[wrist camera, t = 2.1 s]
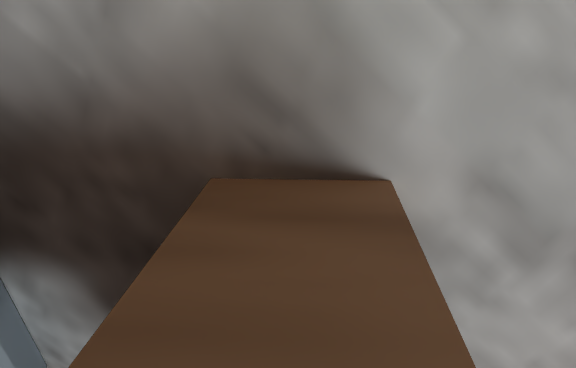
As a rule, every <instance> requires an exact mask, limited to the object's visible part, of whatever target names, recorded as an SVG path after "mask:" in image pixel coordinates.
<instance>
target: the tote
mask: <svg viewBox="0 0 576 368" xmlns="http://www.w3.org/2000/svg"><path fill="white" fill-rule="evenodd" d="M46 367H47V366H46V364H45V362H44V360H43V358H42V356H41V354H40V352H39V351H38V349H37V347H36V345H35V343H34V341H33V339H32V337H31V336H30V334H29V332H28V330H27V328H26V326H25V324H24V322H23V321H22V319H21V317H20V315H19V313H18V311H17V309H16V307H15V306H14V304H13V302H12V300H11V298H10V296H9V294H8V292H7V290H6V289H5V287H4V285H3V283H2V281H1V279H0V368H46Z"/></svg>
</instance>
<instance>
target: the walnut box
mask: <svg viewBox="0 0 576 368" xmlns="http://www.w3.org/2000/svg"><path fill="white" fill-rule="evenodd" d="M69 368H476V367H475V365H474V363H473V360H472V358H471V356H470V354H469V352H468V349H467V347H466V345H465V343H464V341H463V338H462V336H461V334H460V332H459V330H458V327H457V325H456V323H455V321H454V319H453V316H452V314H451V312H450V310H449V308H448V306H447V303H446V301H445V299H444V297H443V295H442V292H441V290H440V288H439V286H438V284H437V281H436V279H435V277H434V275H433V273H432V270H431V268H430V266H429V264H428V262H427V259H426V257H425V255H424V253H423V251H422V248H421V246H420V244H419V242H418V240H417V237H416V235H415V233H414V231H413V229H412V226H411V224H410V222H409V220H408V218H407V215H406V213H405V211H404V209H403V207H402V205H401V202H400V200H399V198H398V196H397V194H396V191H395V189H394V187H393V185H392V183H391V181H375V180H298V179H221V178H211V179H210V180H209V182H208V183H207V184H206V186H205V187H204V188H203V190H202V191H201V192H200V194H199V195H198V196H197V198H196V199H195V200H194V202H193V203H192V204H191V206H190V207H189V208H188V210H187V211H186V212H185V214H184V215H183V216H182V218H181V219H180V220H179V222H178V223H177V224H176V226H175V227H174V228H173V229H172V231H171V232H170V233H169V235H168V236H167V237H166V239H165V240H164V241H163V243H162V244H161V245H160V247H159V248H158V249H157V251H156V252H155V253H154V255H153V256H152V257H151V259H150V260H149V261H148V263H147V264H146V265H145V267H144V268H143V269H142V271H141V272H140V273H139V275H138V276H137V277H136V279H135V280H134V281H133V283H132V284H131V285H130V287H129V288H128V289H127V291H126V292H125V293H124V295H123V296H122V297H121V299H120V300H119V301H118V302H117V304H116V305H115V306H114V308H113V309H112V310H111V312H110V313H109V314H108V316H107V317H106V318H105V320H104V321H103V322H102V324H101V325H100V326H99V328H98V329H97V330H96V332H95V333H94V334H93V336H92V337H91V338H90V340H89V341H88V342H87V344H86V345H85V346H84V348H83V349H82V350H81V352H80V353H79V354H78V356H77V357H76V358H75V360H74V361H73V362H72V364H71V365H70V366H69Z"/></svg>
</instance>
